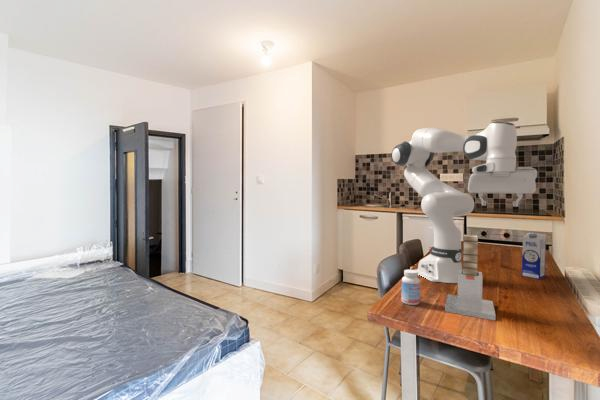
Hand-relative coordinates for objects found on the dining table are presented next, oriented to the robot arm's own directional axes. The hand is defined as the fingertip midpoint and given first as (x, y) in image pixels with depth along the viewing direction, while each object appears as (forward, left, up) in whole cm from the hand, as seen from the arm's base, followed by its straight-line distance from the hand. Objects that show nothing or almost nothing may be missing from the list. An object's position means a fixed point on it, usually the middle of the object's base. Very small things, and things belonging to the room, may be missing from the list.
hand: (499, 206), depth 108 cm
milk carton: (-12, +46, -34) cm, 59 cm away
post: (+1, -16, -27) cm, 31 cm away
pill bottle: (-12, -30, -35) cm, 47 cm away
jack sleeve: (+1, -16, -34) cm, 38 cm away
